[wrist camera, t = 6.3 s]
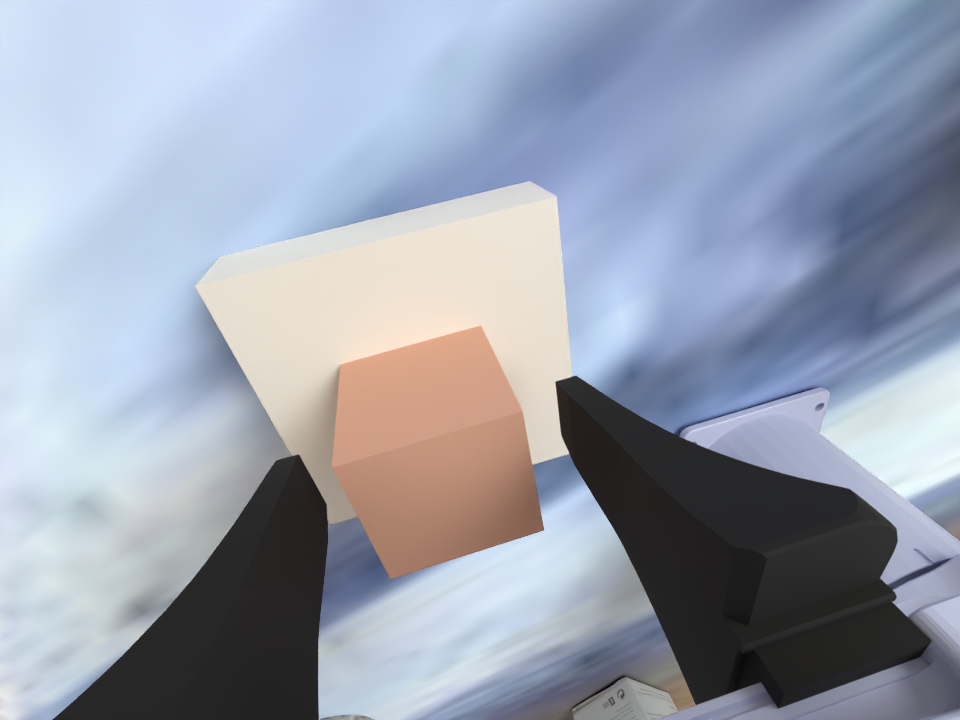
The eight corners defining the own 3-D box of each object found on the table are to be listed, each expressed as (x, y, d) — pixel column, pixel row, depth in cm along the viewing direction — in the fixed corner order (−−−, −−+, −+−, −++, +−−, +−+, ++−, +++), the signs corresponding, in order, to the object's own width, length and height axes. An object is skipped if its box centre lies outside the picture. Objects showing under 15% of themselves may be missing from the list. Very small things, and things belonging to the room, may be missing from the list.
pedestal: (556, 413, 20) (578, 450, 18) (334, 477, 19) (330, 524, 17) (529, 180, 15) (556, 196, 13) (220, 256, 14) (195, 286, 12)
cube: (503, 430, 17) (543, 530, 13) (384, 465, 16) (390, 579, 13) (480, 325, 14) (522, 411, 11) (340, 364, 14) (331, 467, 10)
